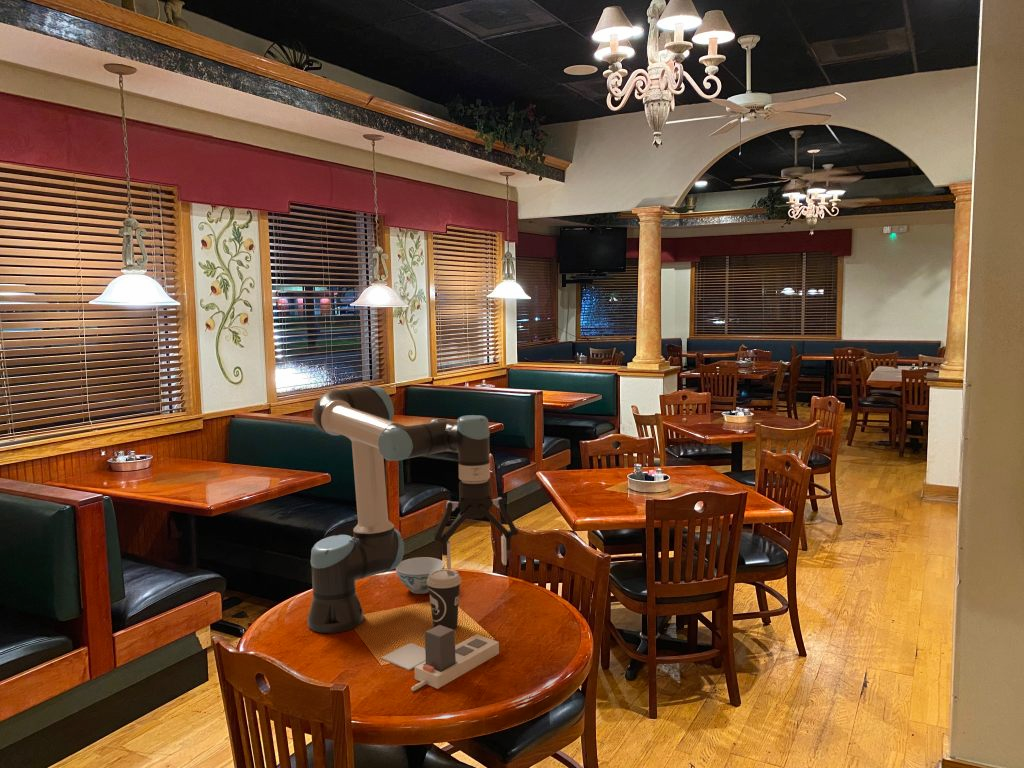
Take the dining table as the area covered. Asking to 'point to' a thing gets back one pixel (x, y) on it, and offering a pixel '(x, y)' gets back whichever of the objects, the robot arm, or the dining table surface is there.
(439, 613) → the coffee cup
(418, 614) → the dining table surface
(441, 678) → the power strip
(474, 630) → the dining table surface
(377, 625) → the dining table surface
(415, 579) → the chinaware
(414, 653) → the pad
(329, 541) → the robot arm
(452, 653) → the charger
